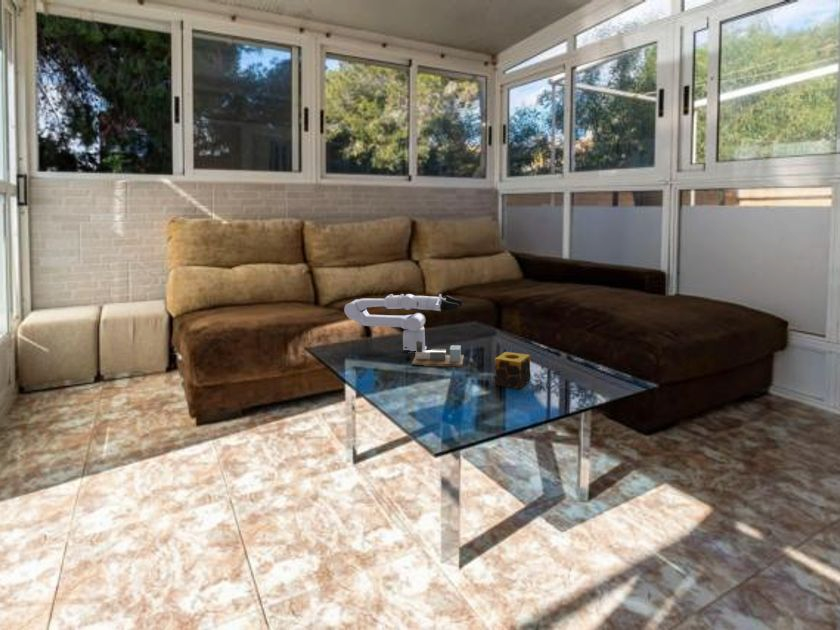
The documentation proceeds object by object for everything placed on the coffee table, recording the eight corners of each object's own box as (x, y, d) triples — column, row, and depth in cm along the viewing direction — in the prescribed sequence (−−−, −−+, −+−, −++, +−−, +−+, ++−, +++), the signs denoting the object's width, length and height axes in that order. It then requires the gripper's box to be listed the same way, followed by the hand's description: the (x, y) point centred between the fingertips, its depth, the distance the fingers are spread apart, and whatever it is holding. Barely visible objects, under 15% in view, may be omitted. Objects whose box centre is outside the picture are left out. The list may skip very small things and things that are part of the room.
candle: (520, 390, 193) (520, 362, 191) (493, 385, 199) (493, 358, 196) (531, 381, 202) (531, 354, 200) (505, 377, 207) (505, 351, 205)
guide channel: (430, 360, 225) (430, 352, 224) (431, 357, 230) (431, 348, 229) (445, 361, 224) (445, 352, 224) (446, 357, 229) (446, 349, 228)
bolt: (415, 359, 227) (415, 342, 225) (416, 357, 230) (416, 340, 228) (445, 359, 225) (445, 342, 224) (446, 357, 228) (445, 340, 226)
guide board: (411, 365, 223) (411, 363, 223) (416, 356, 234) (415, 354, 234) (462, 366, 220) (462, 364, 220) (463, 357, 232) (463, 355, 231)
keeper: (450, 361, 223) (449, 349, 222) (451, 357, 229) (451, 345, 228) (460, 361, 223) (459, 349, 222) (460, 357, 229) (460, 345, 228)
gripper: (424, 296, 230) (457, 298, 227) (433, 290, 244) (464, 292, 241) (424, 313, 232) (456, 315, 228) (432, 306, 245) (463, 308, 242)
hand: (460, 305), depth 235 cm, fingers open, 7 cm apart
